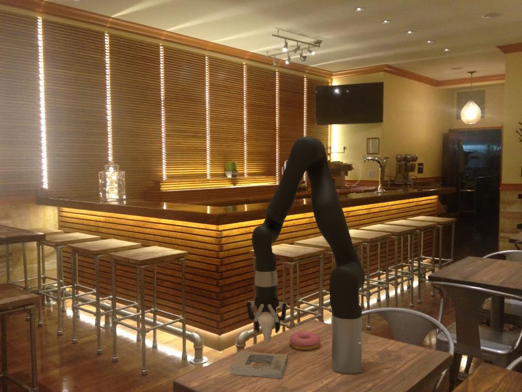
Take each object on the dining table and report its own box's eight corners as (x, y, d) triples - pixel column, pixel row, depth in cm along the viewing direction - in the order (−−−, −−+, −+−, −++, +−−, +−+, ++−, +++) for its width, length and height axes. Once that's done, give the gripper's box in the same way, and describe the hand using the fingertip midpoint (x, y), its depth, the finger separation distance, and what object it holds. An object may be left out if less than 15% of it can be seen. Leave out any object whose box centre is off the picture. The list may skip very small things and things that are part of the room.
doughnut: (300, 354, 162) (300, 342, 162) (283, 343, 172) (283, 332, 171) (326, 348, 167) (326, 336, 167) (309, 338, 177) (309, 327, 176)
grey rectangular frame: (287, 362, 155) (287, 354, 155) (281, 378, 144) (281, 370, 144) (239, 358, 159) (239, 351, 158) (230, 374, 147) (230, 366, 147)
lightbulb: (255, 343, 161) (254, 311, 160) (263, 337, 166) (262, 306, 166) (271, 346, 158) (270, 313, 157) (279, 340, 164) (278, 308, 163)
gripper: (288, 280, 163) (289, 329, 164) (248, 279, 166) (249, 327, 167) (285, 286, 156) (286, 336, 157) (243, 285, 159) (244, 334, 160)
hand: (267, 331), depth 162 cm, fingers closed on lightbulb, 6 cm apart
